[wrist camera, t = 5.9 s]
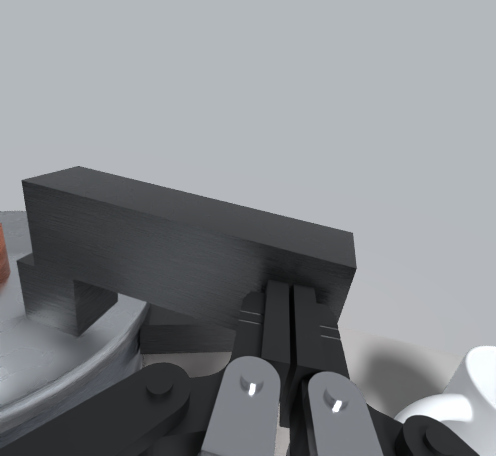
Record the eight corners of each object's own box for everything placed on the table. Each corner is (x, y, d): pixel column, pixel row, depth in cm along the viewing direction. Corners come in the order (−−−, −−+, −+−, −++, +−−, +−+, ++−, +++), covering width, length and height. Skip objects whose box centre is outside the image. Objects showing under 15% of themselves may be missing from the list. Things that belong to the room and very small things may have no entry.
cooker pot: (-343, 650, 13) (-599, 510, 8) (-52, 332, 29) (-86, 224, 24) (277, 538, 19) (322, 423, 15) (234, 328, 35) (250, 241, 30)
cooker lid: (-485, 369, 12) (-771, 119, 8) (6, 209, 29) (-13, 107, 25) (248, 817, 6) (402, 700, 3) (313, 298, 23) (347, 185, 20)
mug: (384, 547, 20) (454, 447, 15) (351, 419, 27) (391, 329, 23) (569, 574, 20) (689, 483, 15) (485, 440, 27) (550, 354, 23)
